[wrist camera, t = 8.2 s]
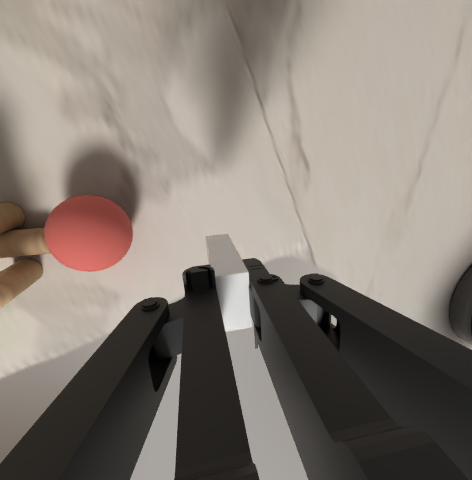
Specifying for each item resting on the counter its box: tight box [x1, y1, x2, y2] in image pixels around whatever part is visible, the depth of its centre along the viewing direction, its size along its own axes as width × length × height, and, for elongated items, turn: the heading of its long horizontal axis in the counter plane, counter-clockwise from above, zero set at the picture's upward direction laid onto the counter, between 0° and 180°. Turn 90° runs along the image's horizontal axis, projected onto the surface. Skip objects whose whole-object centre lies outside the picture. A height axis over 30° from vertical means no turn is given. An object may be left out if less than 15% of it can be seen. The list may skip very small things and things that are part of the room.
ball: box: [44, 195, 133, 272], centre depth 20 cm, size 6×6×6 cm
